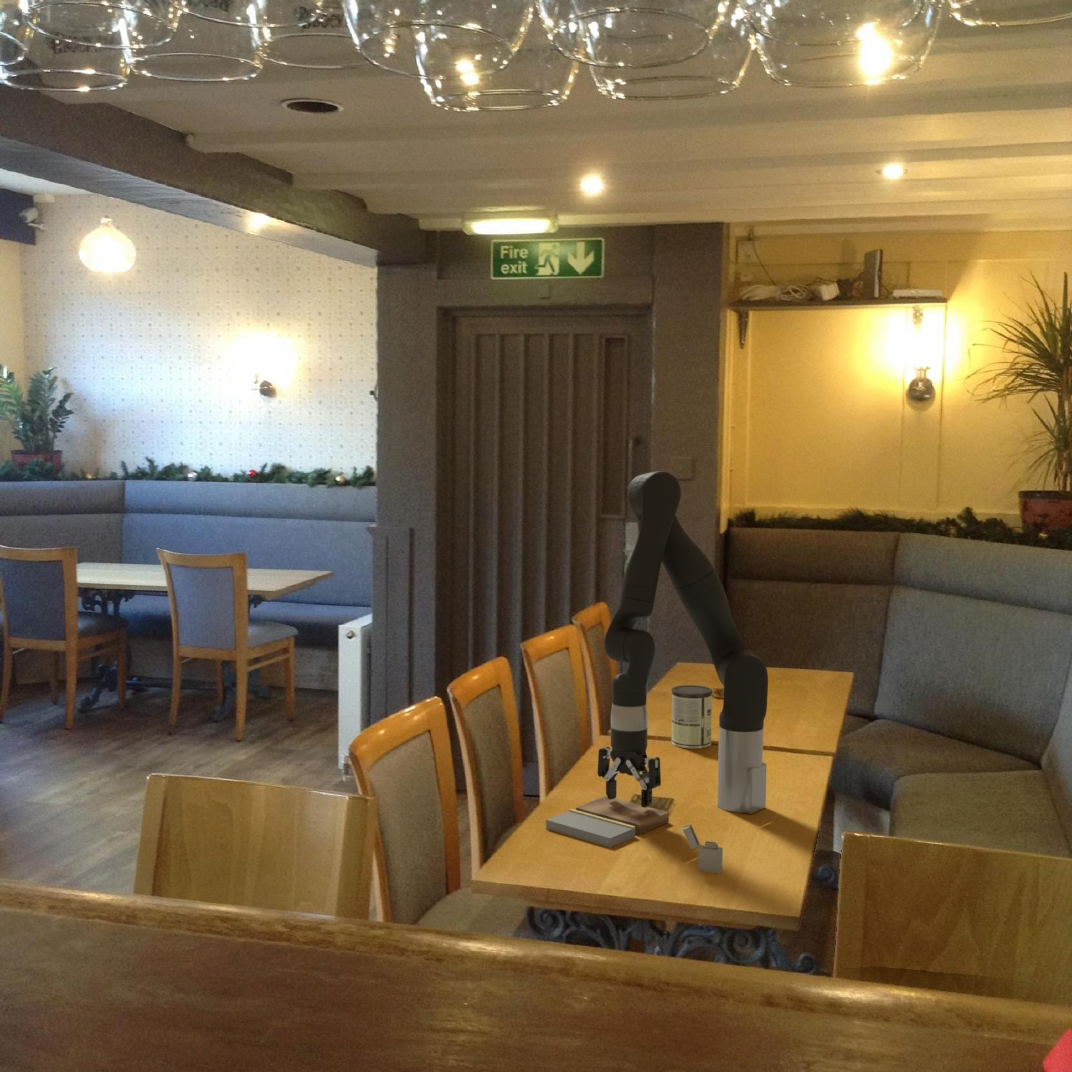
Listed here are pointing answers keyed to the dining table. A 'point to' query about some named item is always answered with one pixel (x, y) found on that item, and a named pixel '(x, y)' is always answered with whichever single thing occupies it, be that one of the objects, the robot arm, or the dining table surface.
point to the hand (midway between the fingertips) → (628, 802)
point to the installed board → (591, 828)
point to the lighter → (705, 852)
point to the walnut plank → (626, 813)
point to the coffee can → (691, 716)
